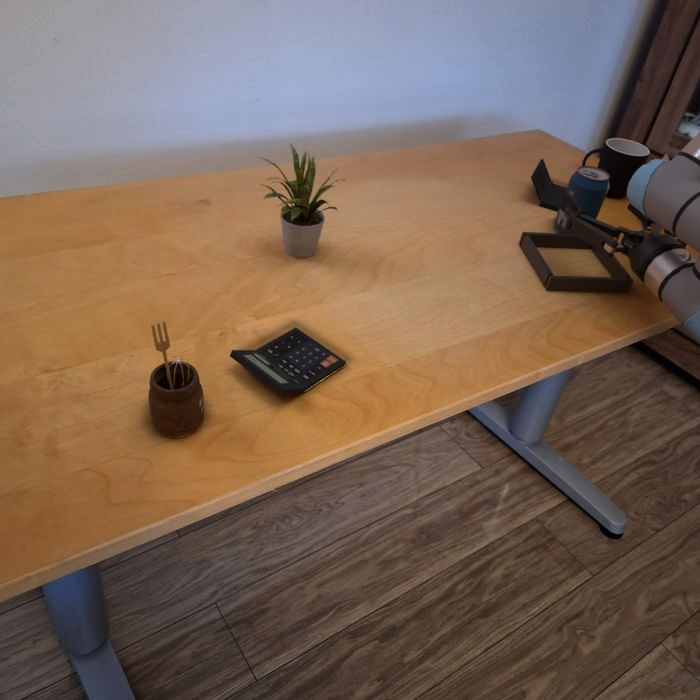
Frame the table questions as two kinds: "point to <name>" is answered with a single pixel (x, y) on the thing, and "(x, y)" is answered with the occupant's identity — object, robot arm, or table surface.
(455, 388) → the table surface
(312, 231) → the house plant
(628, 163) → the mug
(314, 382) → the calculator
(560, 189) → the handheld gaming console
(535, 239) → the dark brown square frame
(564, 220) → the soda can
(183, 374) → the utensil holder
